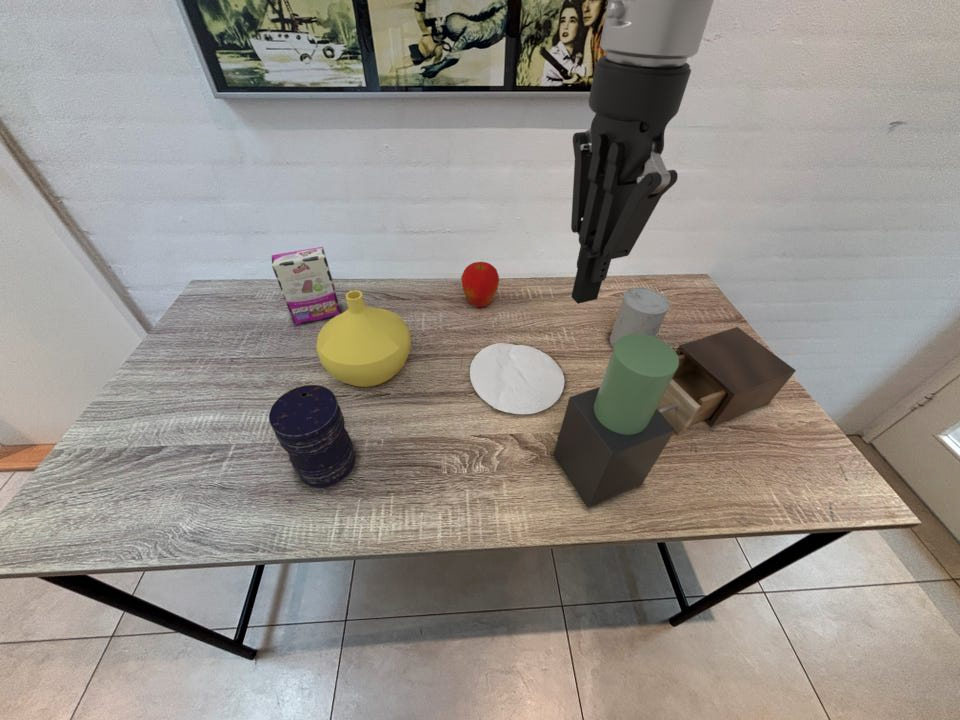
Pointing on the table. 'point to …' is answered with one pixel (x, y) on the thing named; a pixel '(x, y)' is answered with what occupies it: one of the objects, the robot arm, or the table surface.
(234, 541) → the table surface
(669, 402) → the drawer
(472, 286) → the apple
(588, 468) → the riser
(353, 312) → the vase
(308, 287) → the candy bar box
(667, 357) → the tin
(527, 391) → the plaque
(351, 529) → the table surface
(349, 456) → the dark blue cylinder
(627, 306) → the grey concrete cylinder
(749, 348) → the cabinet
